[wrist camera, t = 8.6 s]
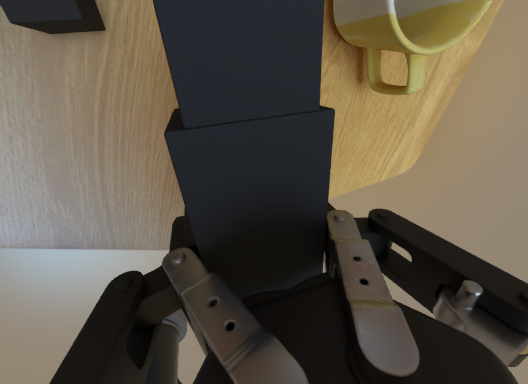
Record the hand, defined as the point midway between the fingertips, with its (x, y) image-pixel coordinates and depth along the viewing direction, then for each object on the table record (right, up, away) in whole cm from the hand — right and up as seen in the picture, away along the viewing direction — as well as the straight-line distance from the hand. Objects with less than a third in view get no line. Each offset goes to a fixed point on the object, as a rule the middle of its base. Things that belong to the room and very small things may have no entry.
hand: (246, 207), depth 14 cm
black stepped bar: (0, +2, 0) cm, 2 cm away
